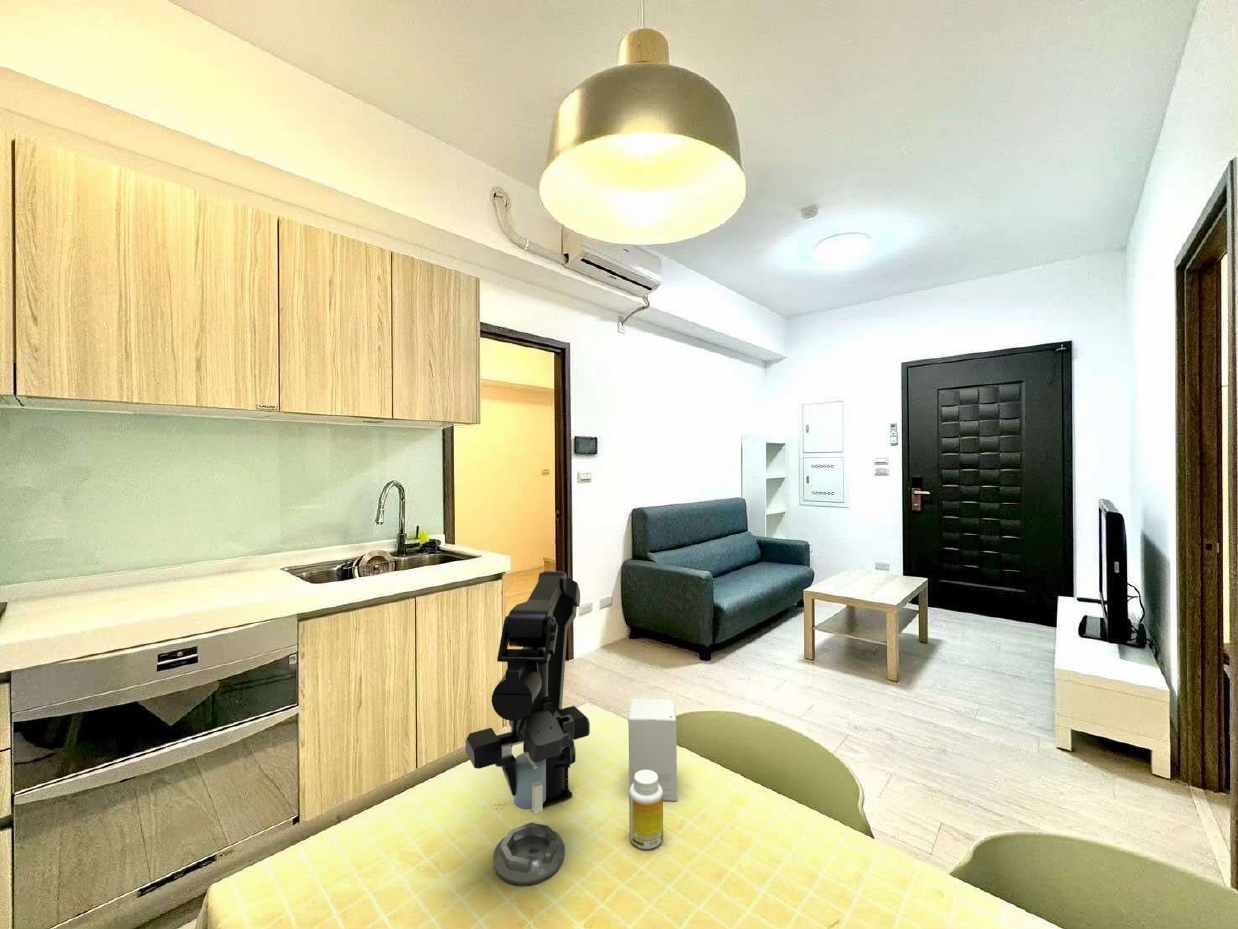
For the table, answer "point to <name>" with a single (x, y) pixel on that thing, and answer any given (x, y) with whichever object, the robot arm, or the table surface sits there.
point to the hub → (528, 855)
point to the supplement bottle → (646, 810)
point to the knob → (530, 783)
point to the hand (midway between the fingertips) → (529, 789)
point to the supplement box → (654, 742)
